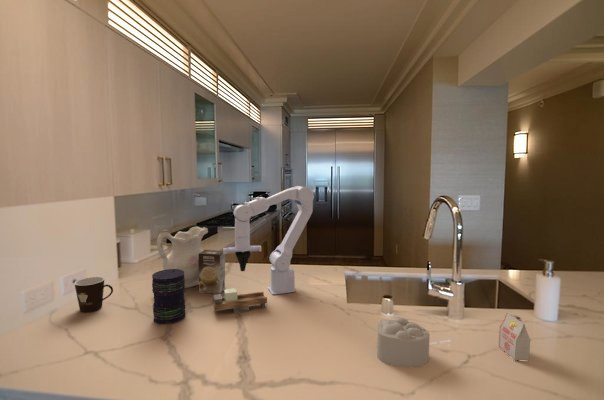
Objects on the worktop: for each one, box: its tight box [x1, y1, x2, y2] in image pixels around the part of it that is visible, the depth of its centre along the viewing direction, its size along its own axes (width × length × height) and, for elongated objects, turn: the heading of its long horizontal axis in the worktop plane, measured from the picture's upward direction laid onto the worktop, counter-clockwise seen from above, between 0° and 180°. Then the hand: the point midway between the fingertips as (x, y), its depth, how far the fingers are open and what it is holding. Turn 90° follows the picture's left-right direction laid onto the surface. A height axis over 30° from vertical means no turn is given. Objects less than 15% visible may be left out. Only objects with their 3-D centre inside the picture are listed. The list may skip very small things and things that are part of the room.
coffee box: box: [198, 249, 226, 295], centre depth 126 cm, size 9×6×16 cm
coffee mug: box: [74, 276, 114, 314], centre depth 108 cm, size 12×9×10 cm
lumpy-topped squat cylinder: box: [376, 317, 430, 368], centre depth 83 cm, size 10×13×9 cm
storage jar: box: [151, 269, 186, 326], centre depth 102 cm, size 10×10×15 cm
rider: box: [223, 287, 238, 302], centre depth 108 cm, size 4×4×4 cm
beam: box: [212, 291, 268, 314], centre depth 110 cm, size 18×6×5 cm, turn 111°
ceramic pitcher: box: [156, 226, 209, 289], centre depth 133 cm, size 22×20×25 cm
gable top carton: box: [497, 312, 531, 361], centre depth 84 cm, size 4×7×10 cm, turn 179°
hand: (242, 270), depth 121 cm, fingers closed
